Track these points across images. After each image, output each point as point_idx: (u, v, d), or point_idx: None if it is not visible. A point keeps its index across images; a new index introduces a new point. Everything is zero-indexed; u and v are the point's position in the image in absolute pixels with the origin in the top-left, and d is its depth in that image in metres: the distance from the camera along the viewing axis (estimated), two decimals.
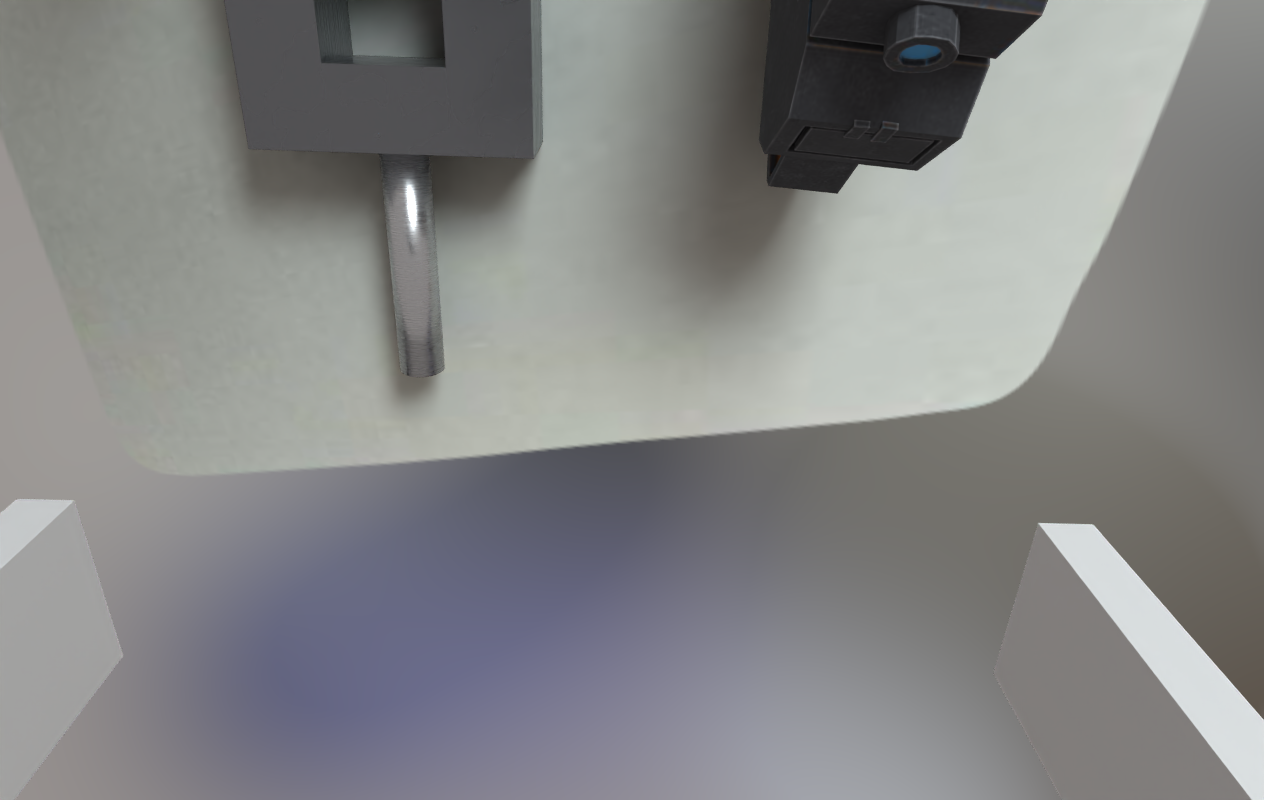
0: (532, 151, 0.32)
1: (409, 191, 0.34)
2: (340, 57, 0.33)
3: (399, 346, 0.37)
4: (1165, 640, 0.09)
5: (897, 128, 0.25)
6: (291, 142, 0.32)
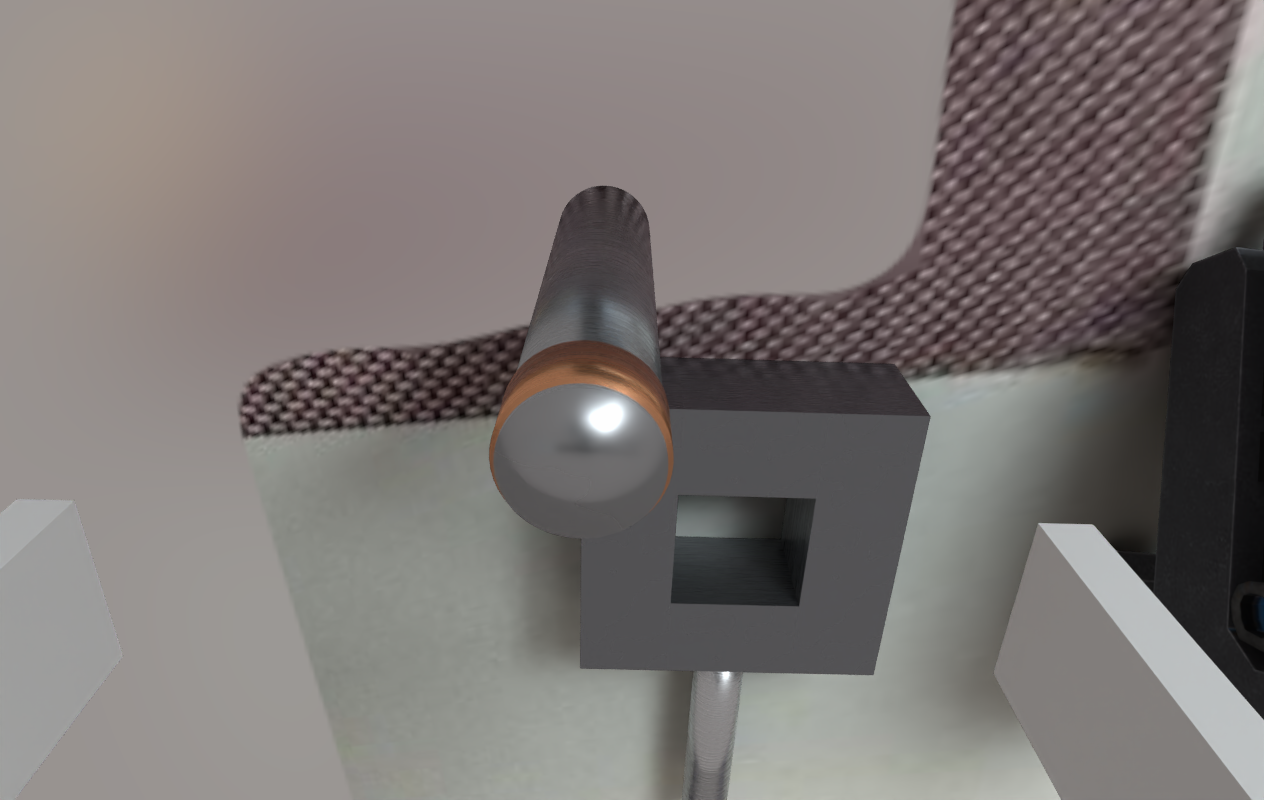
0: (873, 669, 0.31)
1: (728, 684, 0.33)
2: None
3: (689, 796, 0.36)
4: (1165, 640, 0.09)
5: None
6: (625, 663, 0.31)
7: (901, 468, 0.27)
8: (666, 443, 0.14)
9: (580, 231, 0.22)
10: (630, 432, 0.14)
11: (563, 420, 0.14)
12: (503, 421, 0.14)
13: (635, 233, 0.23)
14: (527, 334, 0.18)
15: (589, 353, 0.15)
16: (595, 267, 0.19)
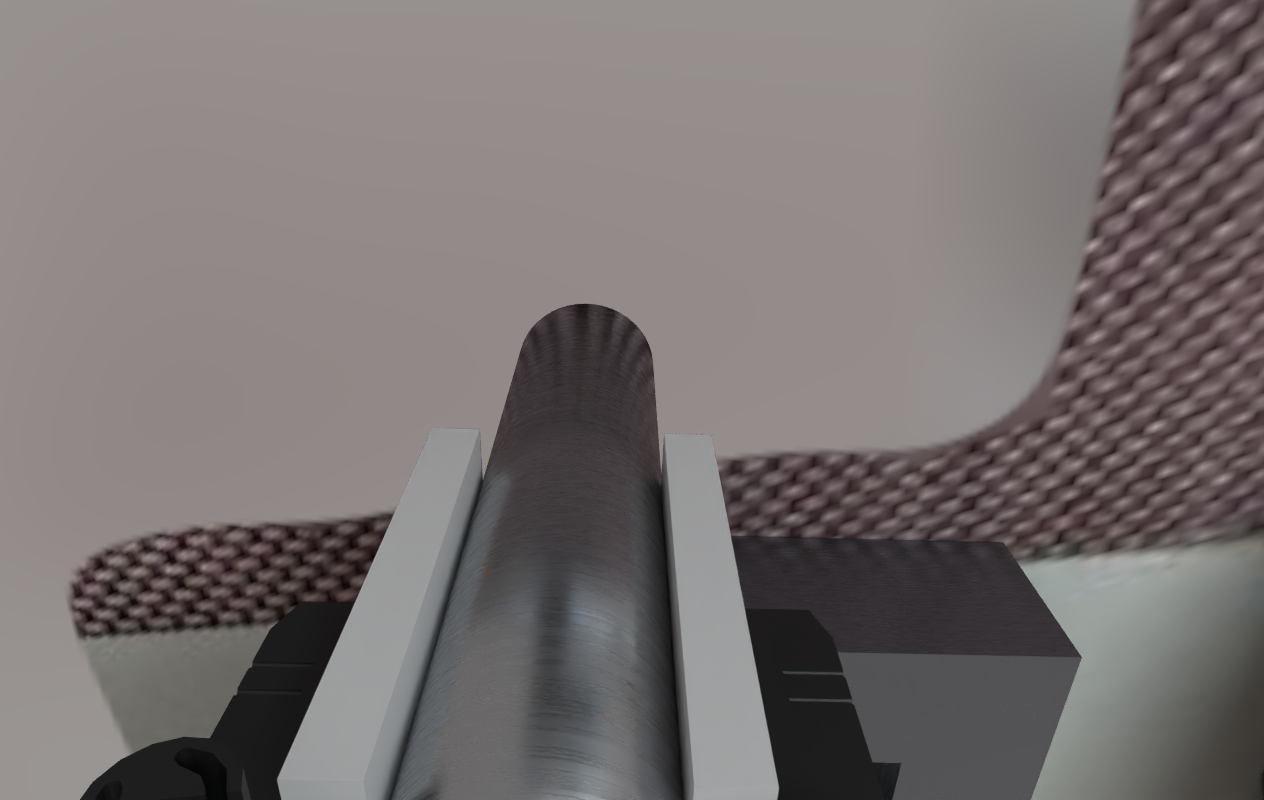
0: None
1: None
2: None
3: None
4: (701, 514, 0.11)
5: None
6: None
7: (1031, 724, 0.18)
8: None
9: (540, 418, 0.13)
10: None
11: None
12: None
13: (632, 409, 0.14)
14: (417, 708, 0.09)
15: None
16: (557, 537, 0.10)
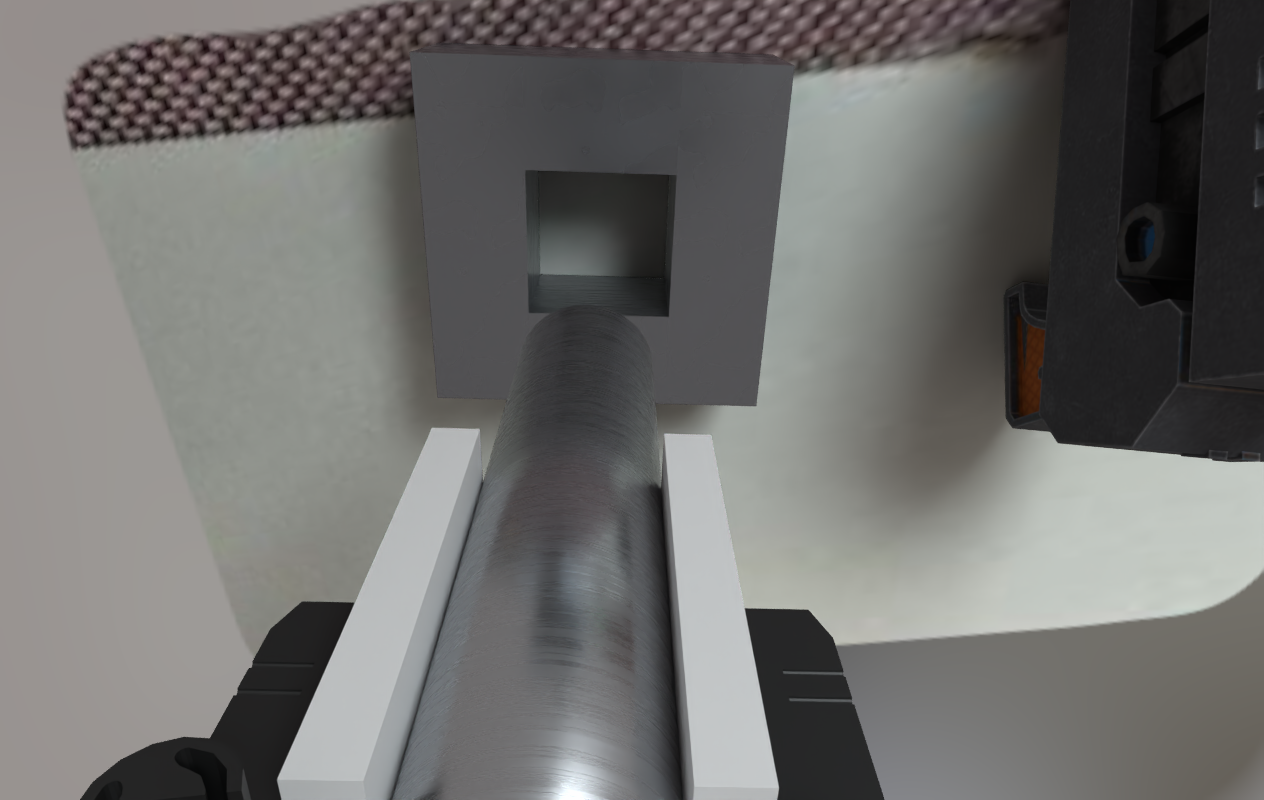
0: (755, 399, 0.29)
1: None
2: (535, 288, 0.29)
3: None
4: (701, 514, 0.11)
5: (1258, 459, 0.21)
6: (486, 391, 0.29)
7: (767, 135, 0.25)
8: None
9: (540, 419, 0.13)
10: None
11: None
12: None
13: (632, 410, 0.14)
14: (418, 708, 0.09)
15: None
16: (558, 538, 0.10)
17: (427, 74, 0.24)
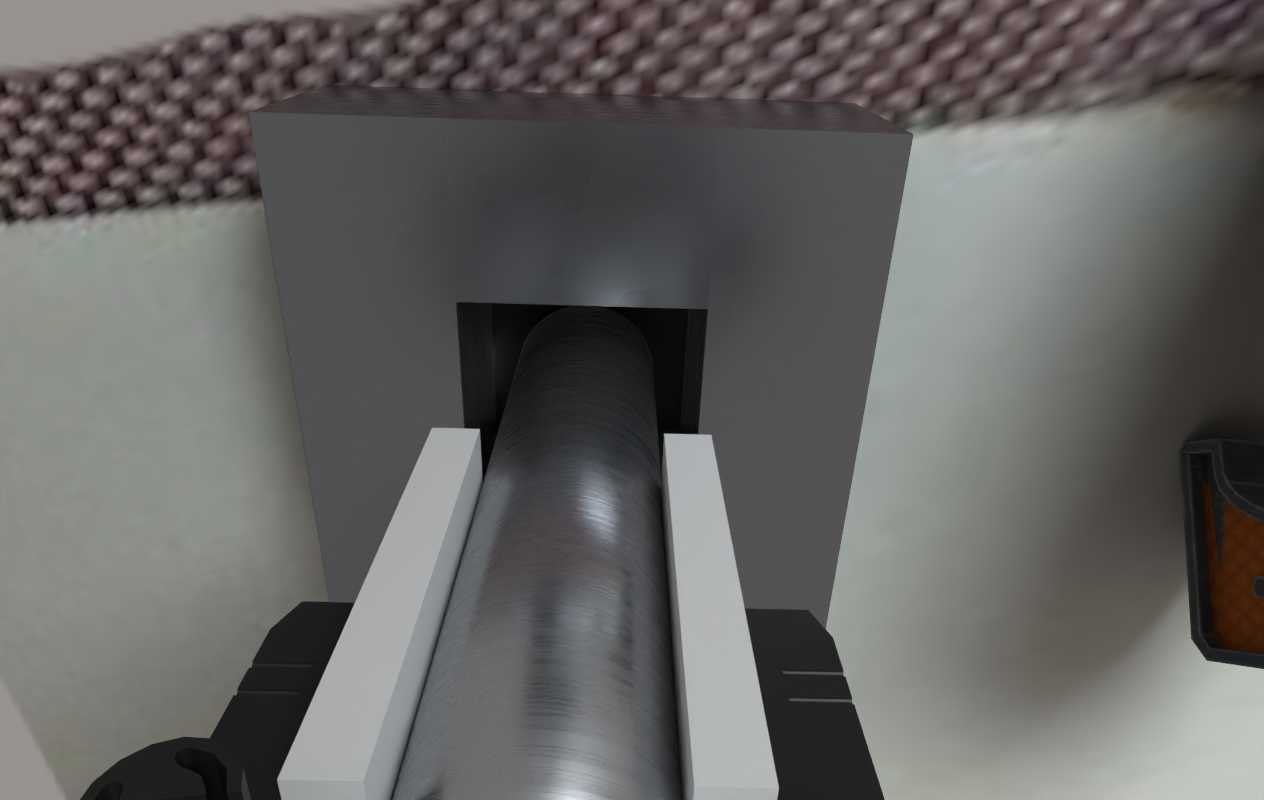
0: None
1: None
2: (487, 454, 0.19)
3: None
4: (701, 514, 0.11)
5: None
6: None
7: (861, 247, 0.15)
8: None
9: (540, 419, 0.13)
10: None
11: None
12: None
13: (632, 410, 0.14)
14: (418, 708, 0.09)
15: None
16: (558, 538, 0.10)
17: (282, 149, 0.14)
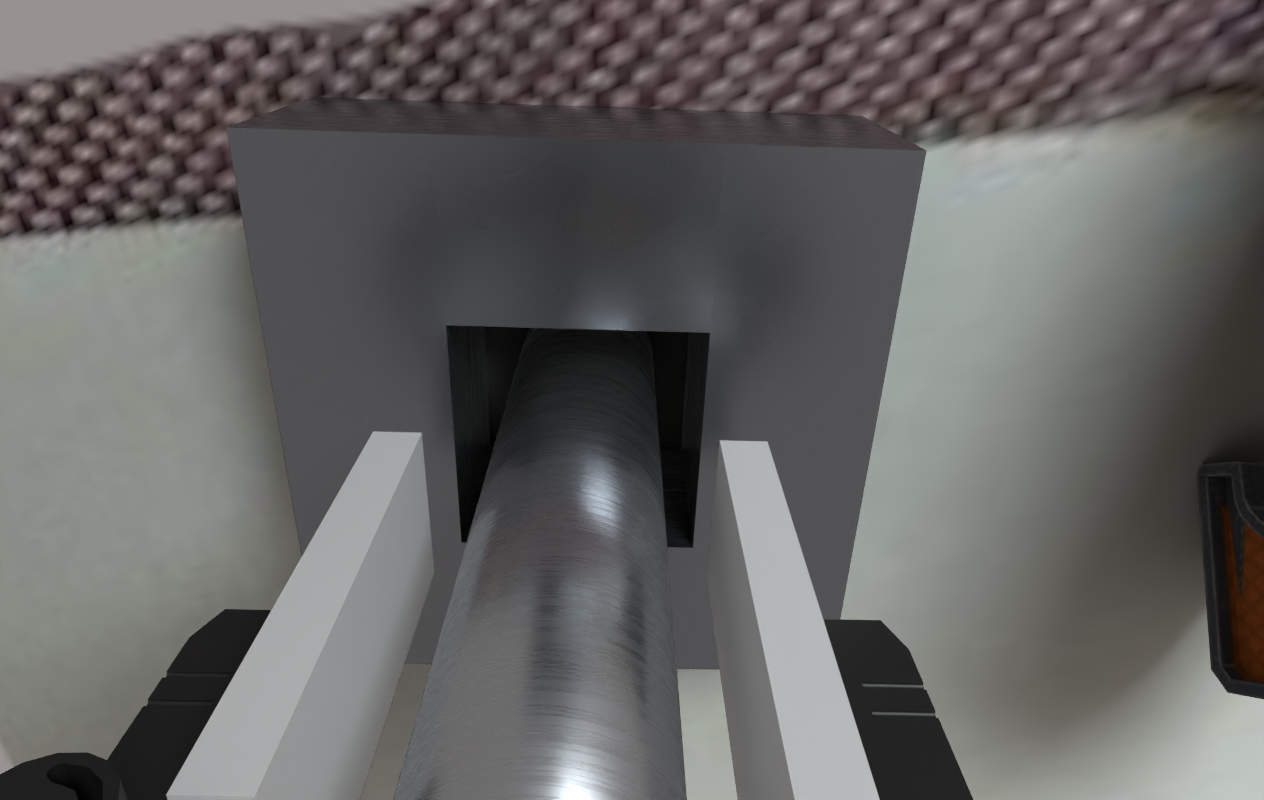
0: None
1: None
2: (480, 479, 0.19)
3: None
4: (768, 523, 0.11)
5: None
6: None
7: (870, 268, 0.14)
8: None
9: (543, 405, 0.14)
10: None
11: None
12: None
13: (632, 397, 0.15)
14: (428, 676, 0.10)
15: None
16: (561, 516, 0.11)
17: (262, 166, 0.13)
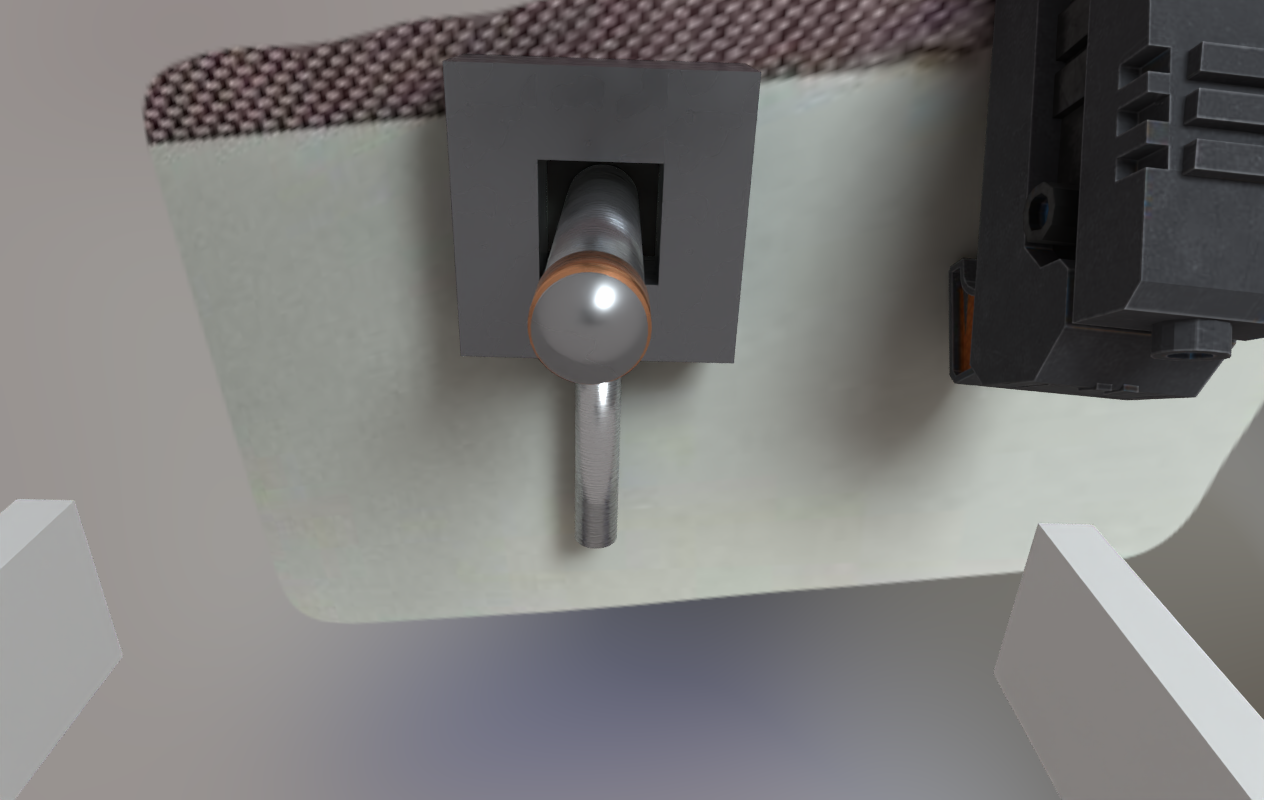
0: (733, 357, 0.34)
1: (605, 386, 0.35)
2: (544, 263, 0.34)
3: (578, 519, 0.39)
4: (1164, 640, 0.09)
5: (1137, 390, 0.26)
6: (502, 350, 0.33)
7: (739, 130, 0.30)
8: (646, 315, 0.21)
9: (585, 193, 0.29)
10: (622, 306, 0.21)
11: (577, 297, 0.21)
12: (537, 299, 0.21)
13: (627, 196, 0.30)
14: None
15: (594, 256, 0.22)
16: (597, 213, 0.26)
17: (457, 79, 0.29)
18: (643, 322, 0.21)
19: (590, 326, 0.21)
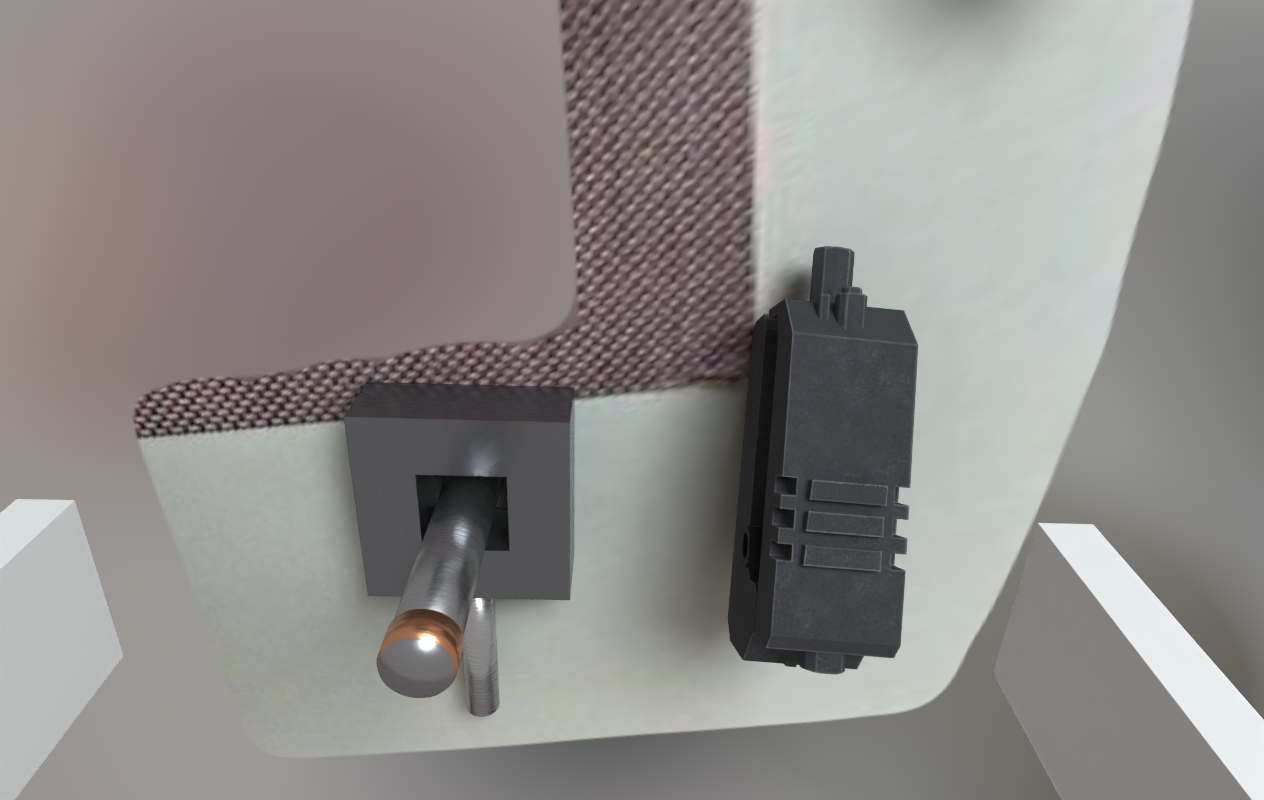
0: (569, 596, 0.46)
1: (479, 609, 0.47)
2: None
3: (467, 695, 0.51)
4: (1164, 640, 0.09)
5: None
6: (398, 591, 0.45)
7: (558, 456, 0.42)
8: (452, 659, 0.33)
9: (447, 503, 0.41)
10: (435, 657, 0.33)
11: (406, 653, 0.33)
12: (381, 651, 0.33)
13: (480, 498, 0.42)
14: (406, 585, 0.37)
15: (421, 618, 0.34)
16: (444, 543, 0.38)
17: (354, 427, 0.41)
18: (450, 664, 0.33)
19: (416, 667, 0.33)
